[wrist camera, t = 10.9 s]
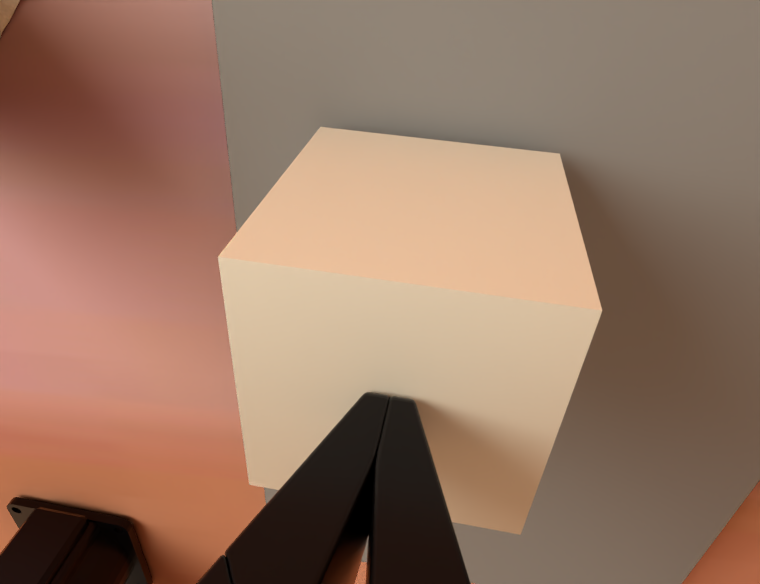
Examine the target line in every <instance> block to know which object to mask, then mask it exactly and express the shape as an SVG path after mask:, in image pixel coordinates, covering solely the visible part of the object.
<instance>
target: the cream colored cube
mask: <svg viewBox="0 0 760 584" xmlns="http://www.w3.org/2000/svg"><path fill="white" fill-rule="evenodd" d="M218 262H219V269H220V276H221V284H222V291H223V298H224V305H225V313H226V320H227V327H228V334H229V341H230V349H231V356H232V363H233V370H234V378H235V385H236V392H237V399H238V407H239V414H240V421H241V428H242V436H243V443H244V450H245V457H246V464H247V472H248V479H249V485H254V486H259V487H265V488H270V489H276V490H279V489H280V488H281V487H282V486H283V485H284V484H285V482H286V481H287V480H288V479H289V478H290V477H291V476H292V475H293V473H294V472H295V471H296V470H297V469H298V468H299V467H300V465H301V464H302V463H303V462H304V461H305V460H306V459H307V457H308V456H309V455H310V454H311V453H312V452H313V451H314V449H315V448H316V447H317V446H318V445H319V444H320V443H321V441H322V440H323V439H324V438H325V437H326V436H327V435H328V434H329V432H330V431H331V430H332V429H333V428H334V427H335V426H336V424H337V423H338V422H339V421H340V420H341V419H342V418H343V416H344V415H345V414H346V413H347V412H348V411H349V410H350V408H351V407H352V406H353V405H354V404H355V403H356V402H357V401H358V399H359V398H360V397H361V396H362V395H363V394H364V393H366V392H372V393H378V394H384V395H388V396H389V397H392V396H396V397H402V398H409V399H413V400H414V401H415V402H416V405H417V408H418V411H419V414H420V418H421V421H422V424H423V428H424V431H425V434H426V438H427V441H428V444H429V448H430V451H431V454H432V457H433V461H434V464H435V467H436V471H437V474H438V477H439V481H440V484H441V487H442V491H443V494H444V497H445V501H446V504H447V507H448V510H449V514H450V517H451V520H452V522H454V523H460V524H465V525H471V526H476V527H481V528H487V529H492V530H498V531H503V532H508V533H514V534H519V535H521V532H522V529H523V527H524V524H525V521H526V518H527V516H528V513H529V510H530V507H531V505H532V502H533V499H534V496H535V494H536V491H537V488H538V485H539V483H540V480H541V477H542V474H543V472H544V469H545V466H546V464H547V461H548V458H549V455H550V453H551V450H552V447H553V444H554V442H555V439H556V436H557V433H558V431H559V428H560V425H561V422H562V420H563V417H564V414H565V412H566V409H567V406H568V403H569V401H570V398H571V395H572V392H573V390H574V387H575V384H576V381H577V379H578V376H579V373H580V370H581V368H582V365H583V362H584V360H585V357H586V354H587V351H588V349H589V346H590V343H591V340H592V338H593V335H594V332H595V329H596V327H597V324H598V321H599V318H600V316H601V313H602V307H601V304H600V300H599V296H598V293H597V289H596V285H595V282H594V278H593V274H592V271H591V267H590V263H589V260H588V256H587V252H586V249H585V245H584V241H583V238H582V234H581V230H580V227H579V223H578V219H577V216H576V212H575V208H574V204H573V201H572V197H571V193H570V190H569V186H568V182H567V179H566V175H565V171H564V168H563V164H562V160H561V157H560V154H559V153H550V152H541V151H532V150H523V149H514V148H505V147H496V146H487V145H478V144H470V143H461V142H452V141H443V140H434V139H425V138H416V137H407V136H398V135H389V134H380V133H371V132H362V131H353V130H344V129H335V128H327V127H320V128H319V129H318V130H317V132H316V133H315V134H314V135H313V137H312V138H311V139H310V141H309V142H308V143H307V144H306V146H305V147H304V148H303V149H302V151H301V152H300V153H299V154H298V156H297V157H296V158H295V160H294V161H293V162H292V163H291V165H290V166H289V167H288V168H287V170H286V171H285V172H284V173H283V175H282V176H281V177H280V179H279V180H278V181H277V182H276V184H275V185H274V186H273V187H272V189H271V190H270V191H269V192H268V194H267V195H266V196H265V198H264V199H263V200H262V201H261V203H260V204H259V205H258V206H257V208H256V209H255V210H254V211H253V213H252V214H251V215H250V217H249V218H248V219H247V220H246V222H245V223H244V224H243V225H242V227H241V228H240V229H239V230H238V232H237V233H236V234H235V236H234V237H233V238H232V239H231V241H230V242H229V243H228V244H227V246H226V247H225V248H224V249H223V251H222V252H221V253H220V255H219V256H218Z"/></svg>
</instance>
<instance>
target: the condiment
mask: <svg viewBox="0 0 760 584" xmlns="http://www.w3.org/2000/svg"><path fill="white" fill-rule="evenodd" d="M19 1H20V0H0V37H1V34H2V31H3V30H4V28H5V27H6V25H7V24H8V23H9V21H10V19H11V17H12V15H13V13H14V11H15V9H16V7H17V5H18V3H19Z"/></svg>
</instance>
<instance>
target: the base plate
mask: <svg viewBox="0 0 760 584" xmlns="http://www.w3.org/2000/svg"><path fill="white" fill-rule="evenodd" d="M212 7H213V17H214V26H215V35H216V45H217V54H218V63H219V72H220V82H221V91H222V100H223V110H224V119H225V128H226V137H227V147H228V156H229V165H230V175H231V184H232V193H233V202H234V212H235V221H236V230H237V232H238V230H239V229H240V228H241V227H242V225H243V224H244V223H245V222H246V220H247V219H248V218H249V217H250V215H251V214H252V213H253V211H254V210H255V209H256V208H257V206H258V205H259V204H260V203H261V201H262V200H263V199H264V198H265V196H266V195H267V194H268V192H269V191H270V190H271V189H272V187H273V186H274V185H275V184H276V182H277V181H278V180H279V179H280V177H281V176H282V175H283V173H284V172H285V171H286V170H287V168H288V167H289V166H290V165H291V163H292V162H293V161H294V160H295V158H296V157H297V156H298V154H299V153H300V152H301V151H302V149H303V148H304V147H305V146H306V144H307V143H308V142H309V141H310V139H311V138H312V137H313V135H314V134H315V133H316V132H317V130H318V129H319V128H320V127H327V128H335V129H344V130H353V131H362V132H371V133H380V134H389V135H398V136H407V137H416V138H425V139H434V140H443V141H452V142H461V143H470V144H478V145H487V146H496V147H505V148H514V149H523V150H532V151H541V152H550V153H559V154H560V157H561V160H562V164H563V168H564V171H565V175H566V179H567V182H568V186H569V190H570V193H571V197H572V201H573V204H574V208H575V212H576V216H577V219H578V223H579V227H580V230H581V234H582V238H583V241H584V245H585V249H586V252H587V256H588V260H589V263H590V267H591V271H592V274H593V278H594V282H595V285H596V289H597V293H598V296H599V300H600V304H601V307H602V313H601V316H600V318H599V321H598V324H597V327H596V329H595V332H594V335H593V338H592V340H591V343H590V346H589V349H588V351H587V354H586V357H585V360H584V362H583V365H582V368H581V370H580V373H579V376H578V379H577V381H576V384H575V387H574V390H573V392H572V395H571V398H570V401H569V403H568V406H567V409H566V412H565V414H564V417H563V420H562V422H561V425H560V428H559V431H558V433H557V436H556V439H555V442H554V444H553V447H552V450H551V453H550V455H549V458H548V461H547V464H546V466H545V469H544V472H543V474H542V477H541V480H540V483H539V485H538V488H537V491H536V494H535V496H534V499H533V502H532V505H531V507H530V510H529V513H528V516H527V518H526V521H525V524H524V527H523V529H522V532H521V535H519V534H514V533H508V532H503V531H498V530H492V529H487V528H481V527H476V526H471V525H465V524H460V523H454V522H452V524H453V527H454V530H455V534H456V537H457V540H458V544H459V547H460V550H461V554H462V557H463V560H464V564H465V567H466V570H467V573H468V577H469V580H470V583H475V584H682V583H683V581H684V580H685V579H686V577H687V576H688V575H689V573H690V572H691V571H692V569H693V568H694V567H695V565H696V564H697V563H698V561H699V560H700V559H701V557H702V556H703V555H704V553H705V552H706V551H707V549H708V548H709V547H710V545H711V544H712V543H713V541H714V540H715V539H716V537H717V536H718V535H719V533H720V532H721V531H722V529H723V528H724V527H725V525H726V524H727V523H728V522H729V520H730V519H731V518H732V516H733V515H734V514H735V512H736V511H737V510H738V508H739V507H740V506H741V504H742V503H743V502H744V500H745V499H746V498H747V496H748V495H749V494H750V492H751V491H752V490H753V488H754V487H755V486H756V484H757V483H758V482H759V480H760V0H212ZM264 490H265V500H266V504H267V503H268V502H269V501H270V500H271V498H272V497H273V496H274V495H275V494H276V493H277V492H278V490H276V489H270V488H265V487H264ZM368 538H369V536H368ZM367 551H368V539H367V543H366V547H365V550H364V553H363V556H362V560H361V561H362V562H367Z"/></svg>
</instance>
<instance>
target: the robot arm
mask: <svg viewBox="0 0 760 584" xmlns="http://www.w3.org/2000/svg"><path fill="white" fill-rule="evenodd" d="M7 509H8V511H9V512H10V514H11V516H12V517H13V519H14V521H15V523H16V524H17V526H18V528H19V530H18V531H17V532H16V534H15V535H14V536H13V538H12V539H11V540H10V542H9V543H8V544H7V546H6V547H5V548H4V550H3V551H2V552H1V553H0V584H152V583H153V580H152V577H151V575H150V572H149V569H148V566H147V564H146V561H145V558H144V555H143V553H142V550H141V547H140V544H139V542H138V539H137V536H136V533H135V531H134V528H133V525H132V524H131V522H129V521H128V520H126V519H124V518H121V517H115V516H110V515H105V514H100V513H95V512H90V511H85V510H80V509H75V508H70V507H65V506H59V505H54V504H49V503H44V502H39V501H34V500H29V499H24V498H19V497H15V498H13V499H12V500H11V501H10V503H9V504H8V505H7ZM368 536H369V538H368ZM367 539H368V551H367V569H366V584H471V583H470V580H469V577H468V573H467V570H466V567H465V564H464V560H463V557H462V554H461V550H460V547H459V544H458V540H457V537H456V534H455V530H454V527H453V524H452V520H451V517H450V514H449V510H448V507H447V504H446V501H445V497H444V494H443V491H442V487H441V484H440V481H439V477H438V474H437V471H436V467H435V464H434V461H433V457H432V454H431V451H430V448H429V444H428V441H427V438H426V434H425V431H424V428H423V424H422V421H421V418H420V414H419V411H418V408H417V405H416V402H415V401H414V400H413V399H409V398H402V397H396V396H392V397H389V396H388V395H384V394H378V393H372V392H366V393H364V394H363V395H362V396H361V397H360V398H359V399H358V401H357V402H356V403H355V404H354V405H353V406H352V407H351V408H350V410H349V411H348V412H347V413H346V414H345V415H344V416H343V418H342V419H341V420H340V421H339V422H338V423H337V424H336V426H335V427H334V428H333V429H332V430H331V431H330V432H329V434H328V435H327V436H326V437H325V438H324V439H323V440H322V441H321V443H320V444H319V445H318V446H317V447H316V448H315V449H314V451H313V452H312V453H311V454H310V455H309V456H308V457H307V459H306V460H305V461H304V462H303V463H302V464H301V465H300V467H299V468H298V469H297V470H296V471H295V472H294V473H293V475H292V476H291V477H290V478H289V479H288V480H287V481H286V482H285V484H284V485H283V486H282V487H281V488H280V489H279V490H278V492H277V493H276V494H275V495H274V496H273V497H272V498H271V500H270V501H269V502H268V503H267V504H266V505H265V506H264V508H263V509H262V510H261V511H260V512H259V513H258V514H257V515H256V517H255V518H254V519H253V520H252V521H251V522H250V523H249V525H248V526H247V527H246V528H245V529H244V530H243V531H242V533H241V534H240V535H239V536H238V537H237V538H236V539H235V541H234V542H233V543H232V544H231V545H230V546H229V547H228V549H227V550H226V551H225V555H226V556H224V555H222V556H220V557H219V558H218V560H217V561H216V562H215V563H214V564H213V565H212V566H211V568H210V569H209V570H208V571H207V572H206V573H205V574H204V576H203V577H202V578H201V579H200V580H199V581H198V582H197V583H196V584H354V583H355V580H356V576H357V573H358V570H359V566H360V563H361V560H362V556H363V553H364V550H365V547H366V543H367Z"/></svg>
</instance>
